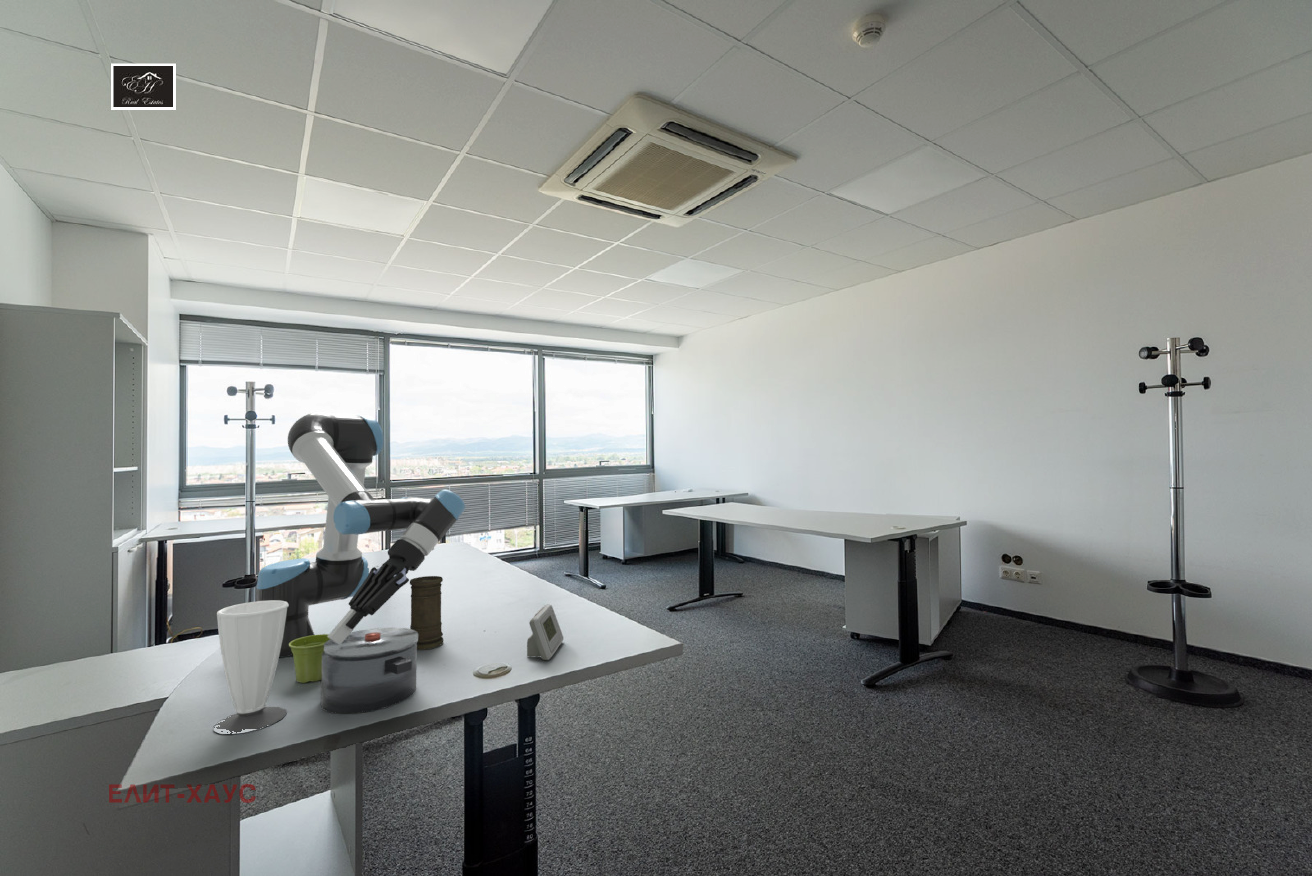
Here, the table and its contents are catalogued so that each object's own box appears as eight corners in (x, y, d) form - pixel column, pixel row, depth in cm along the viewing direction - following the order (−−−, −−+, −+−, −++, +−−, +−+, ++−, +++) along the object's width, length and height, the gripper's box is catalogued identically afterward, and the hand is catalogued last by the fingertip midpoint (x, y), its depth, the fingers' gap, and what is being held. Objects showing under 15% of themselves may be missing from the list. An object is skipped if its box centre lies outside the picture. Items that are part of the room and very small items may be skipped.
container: (433, 650, 146) (434, 581, 147) (401, 650, 147) (402, 581, 148) (449, 640, 155) (449, 575, 156) (419, 639, 156) (419, 575, 157)
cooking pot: (296, 694, 118) (297, 647, 119) (380, 669, 133) (381, 627, 133) (357, 728, 102) (358, 673, 103) (444, 695, 117) (445, 647, 117)
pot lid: (308, 647, 116) (308, 636, 116) (391, 628, 131) (392, 619, 131) (348, 664, 106) (348, 653, 106) (434, 642, 120) (434, 631, 120)
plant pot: (345, 673, 130) (345, 636, 131) (308, 688, 121) (309, 648, 122) (315, 669, 133) (316, 632, 134) (278, 683, 124) (278, 644, 125)
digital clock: (548, 663, 135) (548, 619, 136) (515, 660, 138) (515, 617, 138) (574, 643, 151) (573, 603, 152) (543, 640, 153) (543, 602, 154)
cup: (263, 733, 101) (266, 613, 102) (196, 736, 100) (200, 616, 101) (299, 706, 112) (301, 599, 113) (239, 709, 111) (242, 600, 112)
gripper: (439, 560, 124) (362, 656, 110) (408, 555, 132) (332, 644, 118) (417, 539, 120) (334, 636, 106) (386, 535, 128) (305, 625, 114)
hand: (333, 640), depth 112 cm, fingers closed
